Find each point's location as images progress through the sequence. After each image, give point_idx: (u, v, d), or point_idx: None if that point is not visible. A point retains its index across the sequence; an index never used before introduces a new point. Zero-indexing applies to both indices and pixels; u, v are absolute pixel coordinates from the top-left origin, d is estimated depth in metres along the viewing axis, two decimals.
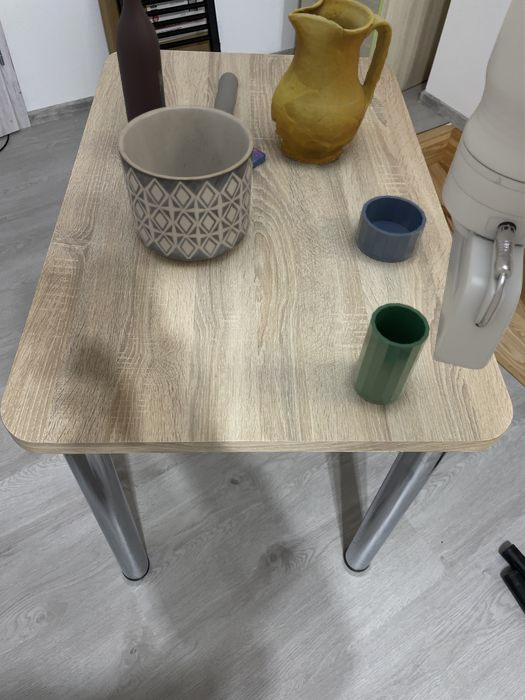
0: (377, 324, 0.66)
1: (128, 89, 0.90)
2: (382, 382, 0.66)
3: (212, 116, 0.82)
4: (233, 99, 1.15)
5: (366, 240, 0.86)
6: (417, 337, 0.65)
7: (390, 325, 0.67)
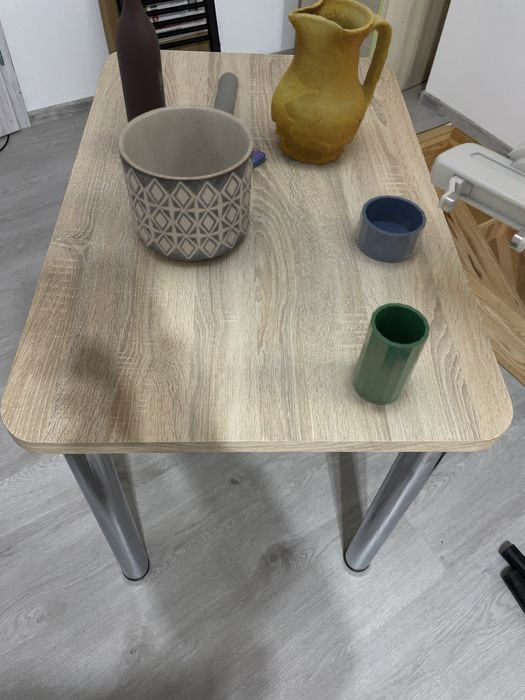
0: (377, 324, 0.66)
1: (128, 89, 0.90)
2: (382, 382, 0.66)
3: (212, 116, 0.82)
4: (233, 99, 1.15)
5: (366, 240, 0.86)
6: (417, 337, 0.65)
7: (390, 325, 0.67)
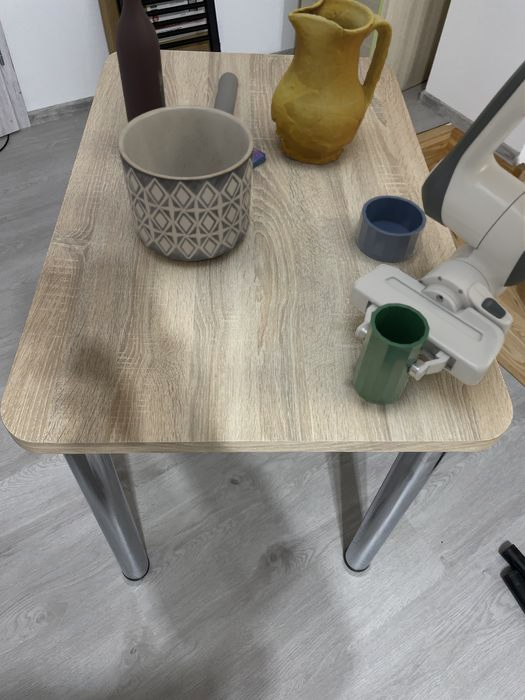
0: (377, 324, 0.66)
1: (128, 89, 0.90)
2: (382, 382, 0.66)
3: (212, 116, 0.82)
4: (233, 99, 1.15)
5: (366, 240, 0.86)
6: (417, 337, 0.65)
7: (390, 325, 0.67)
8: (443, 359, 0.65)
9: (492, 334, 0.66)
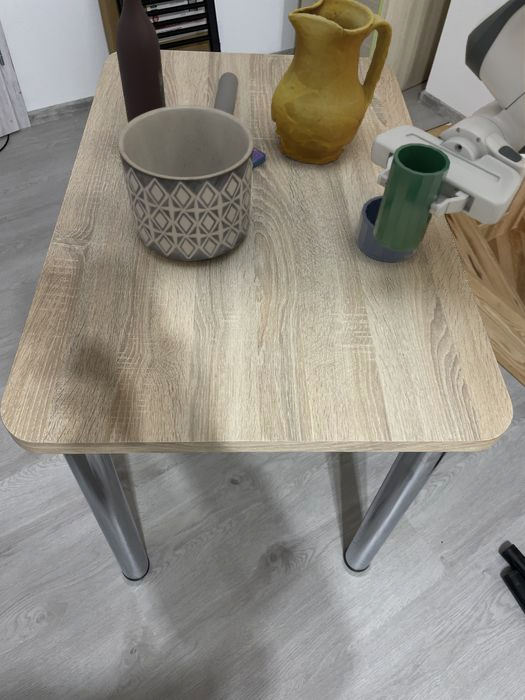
0: None
1: (128, 89, 0.90)
2: (403, 222, 0.69)
3: (212, 116, 0.82)
4: (233, 99, 1.15)
5: (366, 240, 0.86)
6: None
7: None
8: (462, 197, 0.68)
9: (509, 176, 0.69)
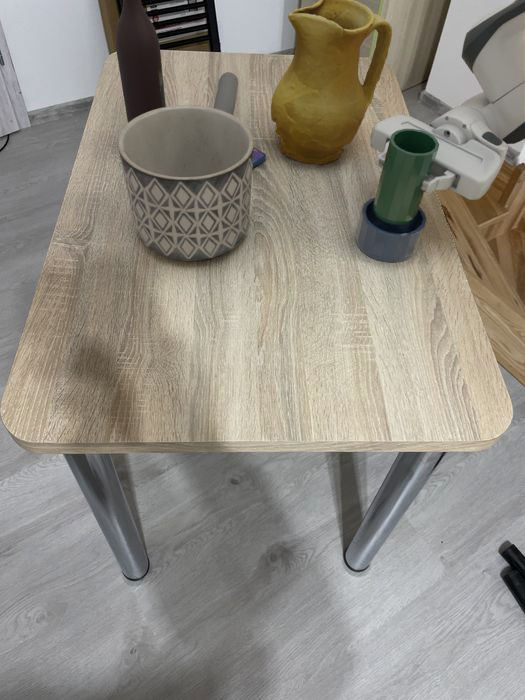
0: None
1: (128, 89, 0.90)
2: (399, 198, 0.79)
3: (212, 116, 0.82)
4: (233, 99, 1.15)
5: (366, 240, 0.86)
6: None
7: None
8: (450, 175, 0.78)
9: (491, 157, 0.79)
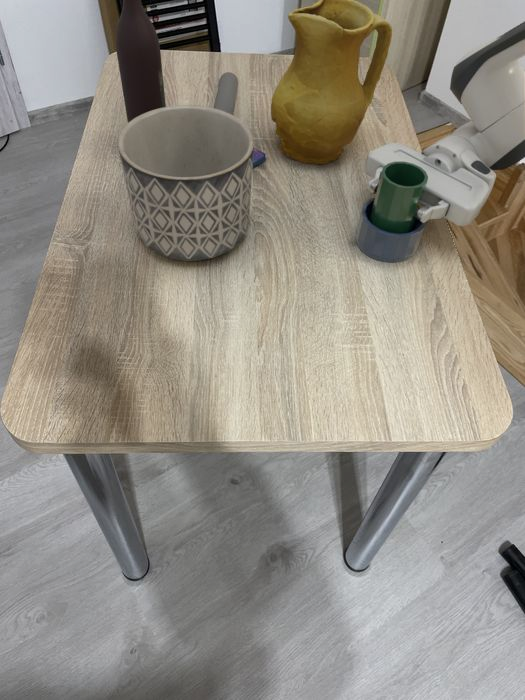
0: None
1: (128, 89, 0.90)
2: (390, 226, 0.84)
3: (212, 116, 0.82)
4: (233, 99, 1.15)
5: (366, 240, 0.86)
6: None
7: (397, 183, 0.85)
8: (444, 205, 0.81)
9: (479, 186, 0.83)
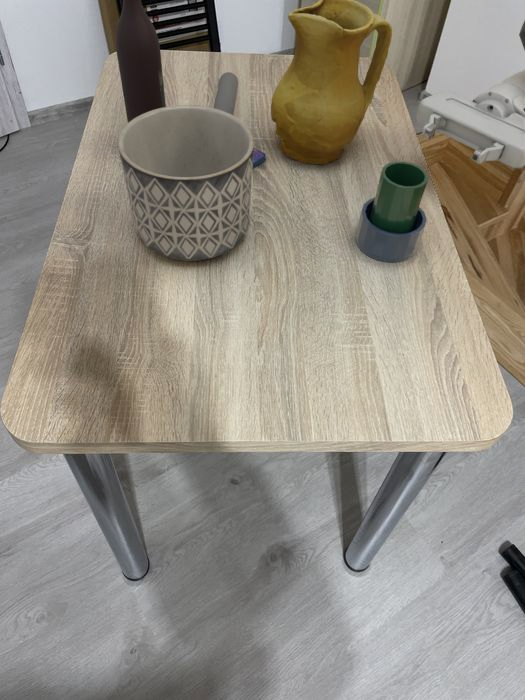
0: None
1: (128, 89, 0.90)
2: (390, 226, 0.84)
3: (212, 116, 0.82)
4: (233, 99, 1.15)
5: (366, 240, 0.86)
6: None
7: (397, 183, 0.85)
8: (499, 147, 0.84)
9: None
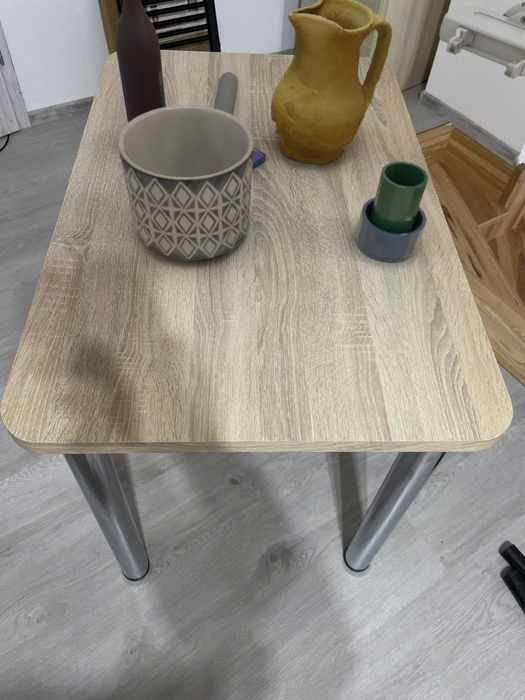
0: None
1: (128, 89, 0.90)
2: (390, 226, 0.84)
3: (212, 116, 0.82)
4: (233, 99, 1.15)
5: (366, 240, 0.86)
6: None
7: (397, 183, 0.85)
8: None
9: None
